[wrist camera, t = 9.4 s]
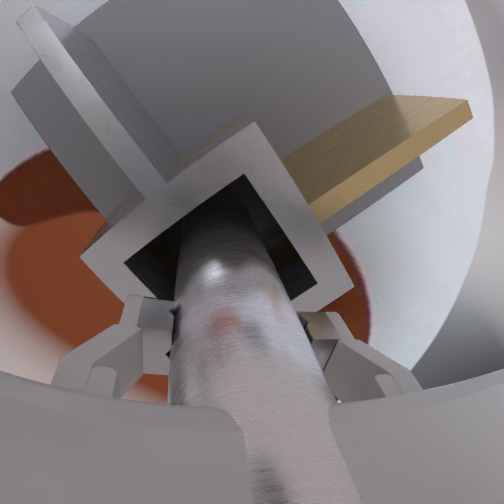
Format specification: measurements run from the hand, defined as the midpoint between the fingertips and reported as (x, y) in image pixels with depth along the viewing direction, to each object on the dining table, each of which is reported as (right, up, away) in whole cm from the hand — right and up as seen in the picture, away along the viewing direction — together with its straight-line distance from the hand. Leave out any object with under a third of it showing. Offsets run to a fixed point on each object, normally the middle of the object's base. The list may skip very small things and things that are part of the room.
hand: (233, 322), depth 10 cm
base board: (-1, +11, +8) cm, 14 cm away
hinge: (0, +11, +7) cm, 13 cm away
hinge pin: (-1, +4, +8) cm, 9 cm away
